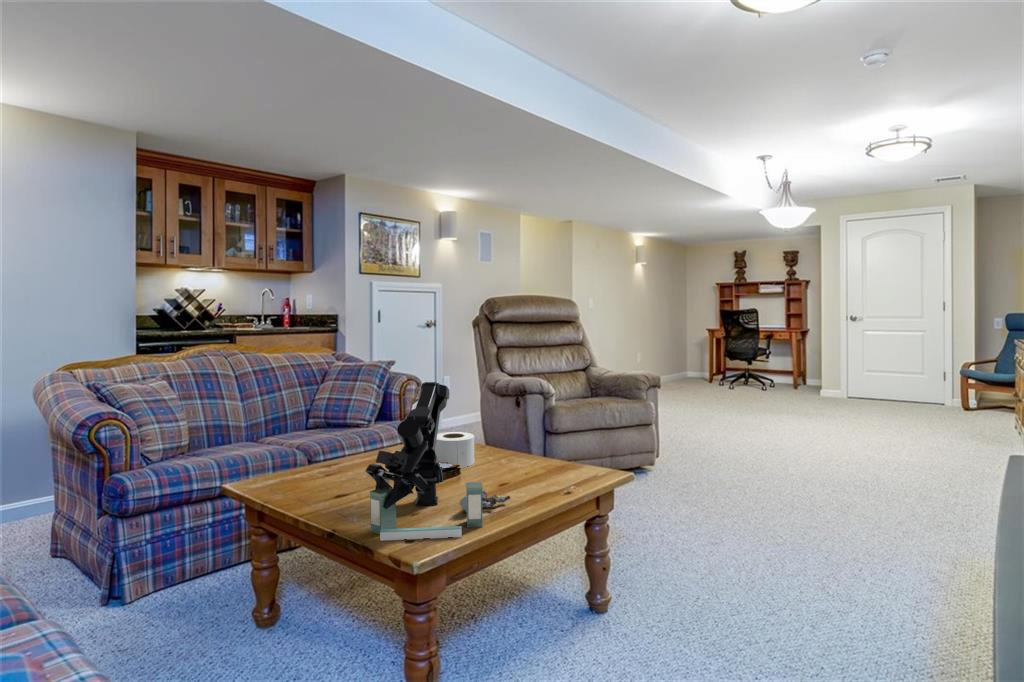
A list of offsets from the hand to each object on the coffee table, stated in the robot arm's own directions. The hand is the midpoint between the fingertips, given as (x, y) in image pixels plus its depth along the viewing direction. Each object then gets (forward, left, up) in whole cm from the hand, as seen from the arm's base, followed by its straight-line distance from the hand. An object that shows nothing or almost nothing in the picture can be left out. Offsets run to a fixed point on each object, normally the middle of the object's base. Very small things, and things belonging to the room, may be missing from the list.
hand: (378, 506), depth 148 cm
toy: (-16, +27, -7) cm, 32 cm away
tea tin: (-1, +1, -7) cm, 7 cm away
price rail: (+5, +11, -7) cm, 14 cm away
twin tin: (-3, +24, -7) cm, 26 cm away
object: (-68, +19, -7) cm, 71 cm away
